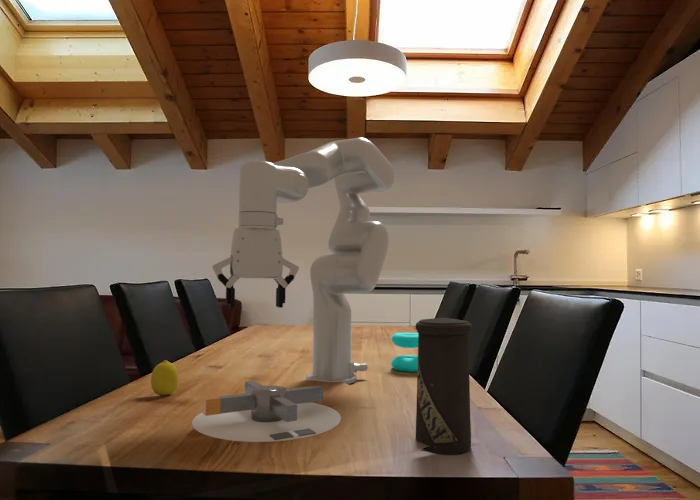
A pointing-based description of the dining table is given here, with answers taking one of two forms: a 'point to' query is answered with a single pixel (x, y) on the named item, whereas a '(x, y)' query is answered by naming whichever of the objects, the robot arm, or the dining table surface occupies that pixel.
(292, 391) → the capstan
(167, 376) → the lemon
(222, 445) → the dining table surface
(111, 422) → the dining table surface
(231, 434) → the stand
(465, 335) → the container
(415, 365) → the donuts
